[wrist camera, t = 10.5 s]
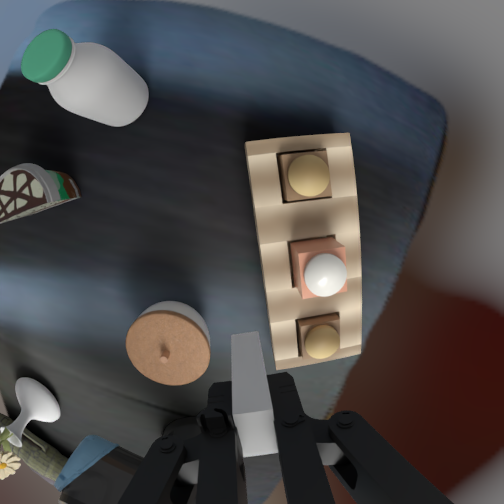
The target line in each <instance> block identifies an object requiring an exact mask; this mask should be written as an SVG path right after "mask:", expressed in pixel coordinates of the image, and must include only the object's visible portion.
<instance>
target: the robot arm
mask: <svg viewBox="0 0 504 504" xmlns="http://www.w3.org/2000/svg"><path fill="white" fill-rule="evenodd" d="M231 361H232V381H226V382H218V383H213V385H212V386H211V387H210V389H209V393H208V405H207V408H206V409H204V410H202V411H201V412H200V413H199V414H198V416H195V417H185V418H181V419H178V420H175V421H173V422H172V423H170V424H169V425H168V426H167V427H166V429H165V431H164V434H163V437H160V438H158V439H157V440H155V442H154V443H153V444H152V446H151V447H150V449H149V451H148V452H147V454H146V456H145V457H144V458H143V457H141V456H139V455H136V454H134V453H132V452H130V451H128V450H126V449H124V448H122V447H120V446H119V445H118V444H114V443H112V442H110V441H108V440H106V439H103V438H101V437H99V436H97V435H89V436H87V437H85V438H84V439H83V440H82V441H81V443H80V444H79V445H78V447H77V448H76V449H75V451H74V452H73V453H72V455H71V456H70V458H69V459H68V461H67V462H66V464H65V465H64V467H63V469H62V470H61V472H60V474H59V476H58V477H57V479H56V481H55V483H54V486H55V487H56V488H57V490H58V491H60V492H61V491H62V494H61V496H60V499H59V501H58V502H59V504H248V499H247V486H246V473H245V465H244V461H243V456H244V457H250V456H258V455H265V454H272V453H279V459H280V466H281V471H282V477H283V482H284V487H285V493H286V498H287V503H288V504H335V501H334V498H333V495H332V492H331V489H330V485H329V482H328V479H327V476H326V473H325V470H324V466H323V465H329V467H330V469H331V470H332V471H333V473H334V474H335V475H336V477H337V478H338V479H339V481H340V482H341V483H342V485H343V486H344V487H345V489H346V490H347V491H348V492H349V494H350V495H351V496H352V498H353V499H354V500H355V501H356V503H357V504H454V503H452V502H451V501H450V500H449V499H448V498H447V497H446V496H445V495H444V494H442V493H441V492H440V491H439V490H438V489H437V488H436V487H435V486H434V485H433V484H432V483H430V482H429V481H428V480H427V479H426V478H425V477H424V476H423V475H422V474H421V473H420V472H419V471H418V470H416V469H415V468H414V467H413V466H412V465H411V464H410V463H409V462H408V461H407V460H406V459H405V458H404V457H403V456H402V455H401V454H400V453H399V452H397V451H396V450H395V449H394V448H393V447H392V446H391V445H390V444H389V443H388V442H387V441H386V440H385V439H384V438H383V437H382V436H381V435H380V434H379V433H378V432H377V431H376V430H375V429H374V428H373V427H372V426H371V425H370V424H368V422H367V421H366V420H365V419H364V418H362V416H361V415H359V414H358V413H356V412H353V411H341V412H337V413H335V414H334V415H332V416H331V418H330V419H329V420H318V419H313V418H311V417H309V416H307V415H306V414H305V413H304V411H303V408H302V405H301V402H300V398H299V395H298V392H297V389H296V386H295V383H294V379H293V377H292V376H291V375H290V374H288V373H287V372H283V373H277V374H271V375H266V370H265V365H264V360H263V354H262V349H261V344H260V338H259V333H258V331H255V332H248V333H241V334H234V335H231Z"/></svg>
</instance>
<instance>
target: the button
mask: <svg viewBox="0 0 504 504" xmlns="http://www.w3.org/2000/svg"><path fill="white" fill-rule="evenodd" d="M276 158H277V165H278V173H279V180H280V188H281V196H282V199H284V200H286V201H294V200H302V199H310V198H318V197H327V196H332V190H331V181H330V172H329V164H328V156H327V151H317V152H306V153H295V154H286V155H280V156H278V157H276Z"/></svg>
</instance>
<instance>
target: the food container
mask: <svg viewBox="0 0 504 504" xmlns="http://www.w3.org/2000/svg"><path fill="white" fill-rule="evenodd" d="M80 197H82V196H81V193H80V189H79V188H78V186H77V184H76V182H75V181H74V180H73V179H72V178H71V177H70V176H69V175H68V174H66V173H63V172H60V171H51V170H44V169H43V168H41V167H40V166H38V165H35V164H32V163H24V164H20V165H17V166H15V167H12V168H10V169H9V170H7V171H6V172H5V173H4V174H2V175H1V176H0V224H1V223H4V222H7V221H11V220H14V219H17V218H21V217H24V216H28V215H32V214H35V213H38V212H40V211H43V210H46V209H48V208H51V207H54V206H57V205H60V204H62V203H65V202H68V201H71V200H74V199H77V198H80Z"/></svg>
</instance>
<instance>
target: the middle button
mask: <svg viewBox="0 0 504 504" xmlns="http://www.w3.org/2000/svg"><path fill="white" fill-rule="evenodd" d="M290 247H291V256H292V265H293V275H294V284H295V286H296V287H297V289H298V291H299V293H300V295H301V297H302V299H307V298H313V297H319V296H322V297H326V296H331V295H333V294H336V293H341V292H347V270H346V252H345V246H344V245H342V244H341V243H339V242H338V241H336V240H335V239H334V238H332V237H327V238H320V239H313V240H306V241H299V242H292V243H290Z"/></svg>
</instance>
